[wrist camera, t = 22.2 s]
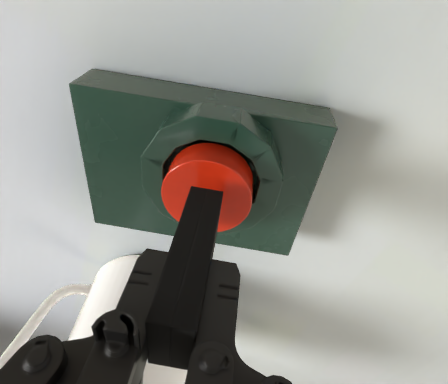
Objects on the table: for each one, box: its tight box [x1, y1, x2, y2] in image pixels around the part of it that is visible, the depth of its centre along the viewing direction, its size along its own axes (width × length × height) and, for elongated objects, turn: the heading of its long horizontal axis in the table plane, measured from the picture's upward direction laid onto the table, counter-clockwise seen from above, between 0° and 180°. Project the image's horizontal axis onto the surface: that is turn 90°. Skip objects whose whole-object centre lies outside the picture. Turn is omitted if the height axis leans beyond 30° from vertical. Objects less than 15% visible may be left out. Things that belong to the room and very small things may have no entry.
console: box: [69, 69, 337, 255], centre depth 19 cm, size 14×10×4 cm
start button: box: [161, 143, 253, 232], centre depth 16 cm, size 5×5×2 cm
